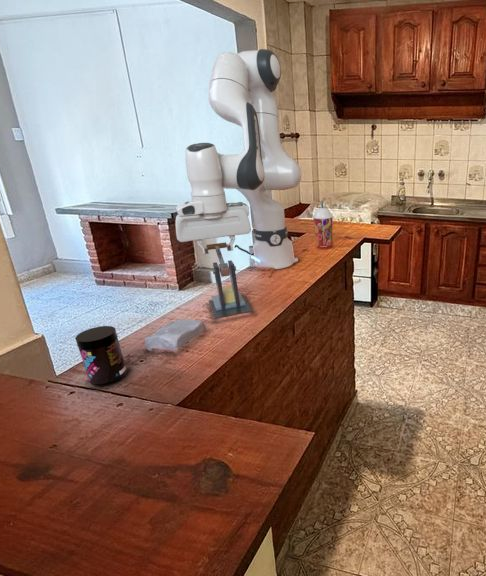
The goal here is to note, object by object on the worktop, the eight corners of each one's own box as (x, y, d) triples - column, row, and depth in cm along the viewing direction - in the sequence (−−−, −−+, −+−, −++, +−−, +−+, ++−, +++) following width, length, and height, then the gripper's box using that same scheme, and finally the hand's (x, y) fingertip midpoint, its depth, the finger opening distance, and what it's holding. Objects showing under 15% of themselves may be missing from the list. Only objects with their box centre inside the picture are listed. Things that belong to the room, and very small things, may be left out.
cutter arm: (206, 249, 117) (205, 242, 116) (226, 246, 120) (225, 240, 118) (215, 277, 108) (214, 270, 106) (236, 274, 110) (235, 267, 109)
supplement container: (97, 371, 84) (84, 327, 81) (132, 367, 86) (120, 324, 82) (83, 390, 78) (68, 343, 74) (121, 385, 79) (107, 339, 76)
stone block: (144, 358, 92) (179, 354, 90) (136, 339, 91) (172, 335, 88) (177, 336, 103) (210, 332, 101) (171, 319, 102) (204, 314, 99)
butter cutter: (209, 304, 117) (201, 259, 112) (243, 298, 121) (237, 254, 117) (215, 322, 106) (206, 273, 101) (253, 315, 110) (247, 267, 105)
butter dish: (211, 298, 118) (209, 286, 117) (239, 293, 121) (237, 282, 120) (216, 310, 110) (214, 298, 108) (245, 305, 113) (243, 292, 112)
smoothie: (335, 248, 172) (333, 202, 165) (316, 250, 171) (313, 203, 163) (332, 244, 180) (330, 199, 173) (314, 245, 178) (311, 200, 171)
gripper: (245, 199, 118) (251, 244, 123) (170, 206, 110) (180, 254, 115) (249, 202, 113) (256, 249, 118) (171, 210, 105) (181, 260, 110)
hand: (218, 252), depth 116 cm, fingers closed on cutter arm, 5 cm apart
